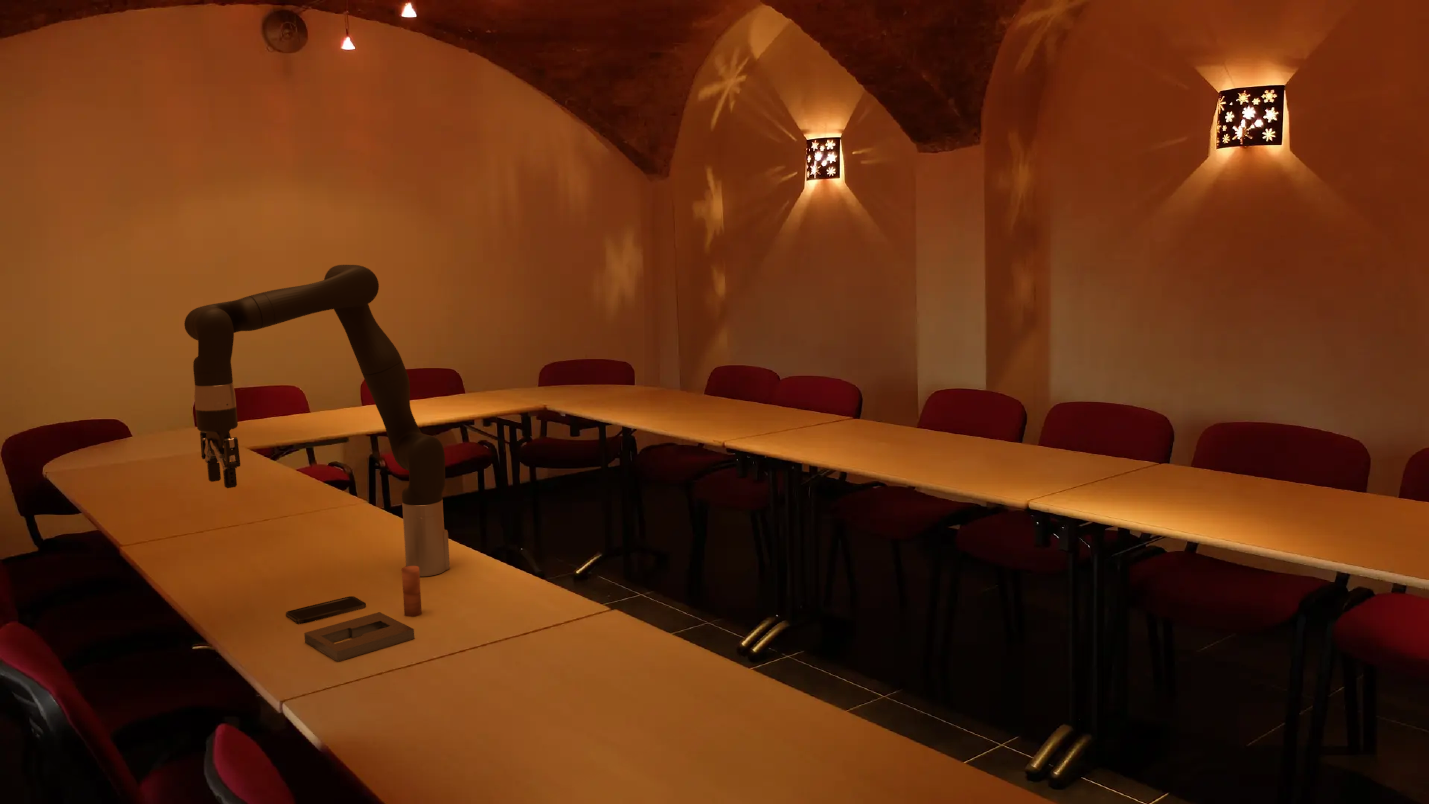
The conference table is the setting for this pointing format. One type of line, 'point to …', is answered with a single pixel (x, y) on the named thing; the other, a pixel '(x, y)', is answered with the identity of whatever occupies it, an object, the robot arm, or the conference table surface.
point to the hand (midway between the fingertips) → (222, 484)
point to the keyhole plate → (371, 630)
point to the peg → (411, 591)
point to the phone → (325, 610)
